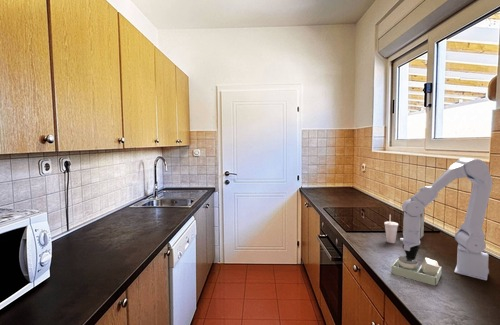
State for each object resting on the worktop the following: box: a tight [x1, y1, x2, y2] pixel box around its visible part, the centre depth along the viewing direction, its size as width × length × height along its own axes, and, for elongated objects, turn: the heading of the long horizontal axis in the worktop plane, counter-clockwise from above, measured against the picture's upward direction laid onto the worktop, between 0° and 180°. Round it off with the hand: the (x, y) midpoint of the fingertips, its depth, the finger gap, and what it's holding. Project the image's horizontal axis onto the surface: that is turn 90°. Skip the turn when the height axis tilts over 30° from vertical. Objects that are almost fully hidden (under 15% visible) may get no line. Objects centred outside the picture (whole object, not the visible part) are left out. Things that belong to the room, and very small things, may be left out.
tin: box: [398, 255, 419, 272], centre depth 107 cm, size 7×7×5 cm
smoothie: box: [383, 214, 399, 244], centre depth 138 cm, size 6×6×14 cm
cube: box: [421, 257, 441, 276], centre depth 101 cm, size 4×4×4 cm
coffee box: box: [402, 208, 425, 239], centre depth 147 cm, size 9×6×16 cm
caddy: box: [390, 257, 442, 287], centre depth 105 cm, size 14×11×3 cm
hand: (411, 262), depth 110 cm, fingers closed
